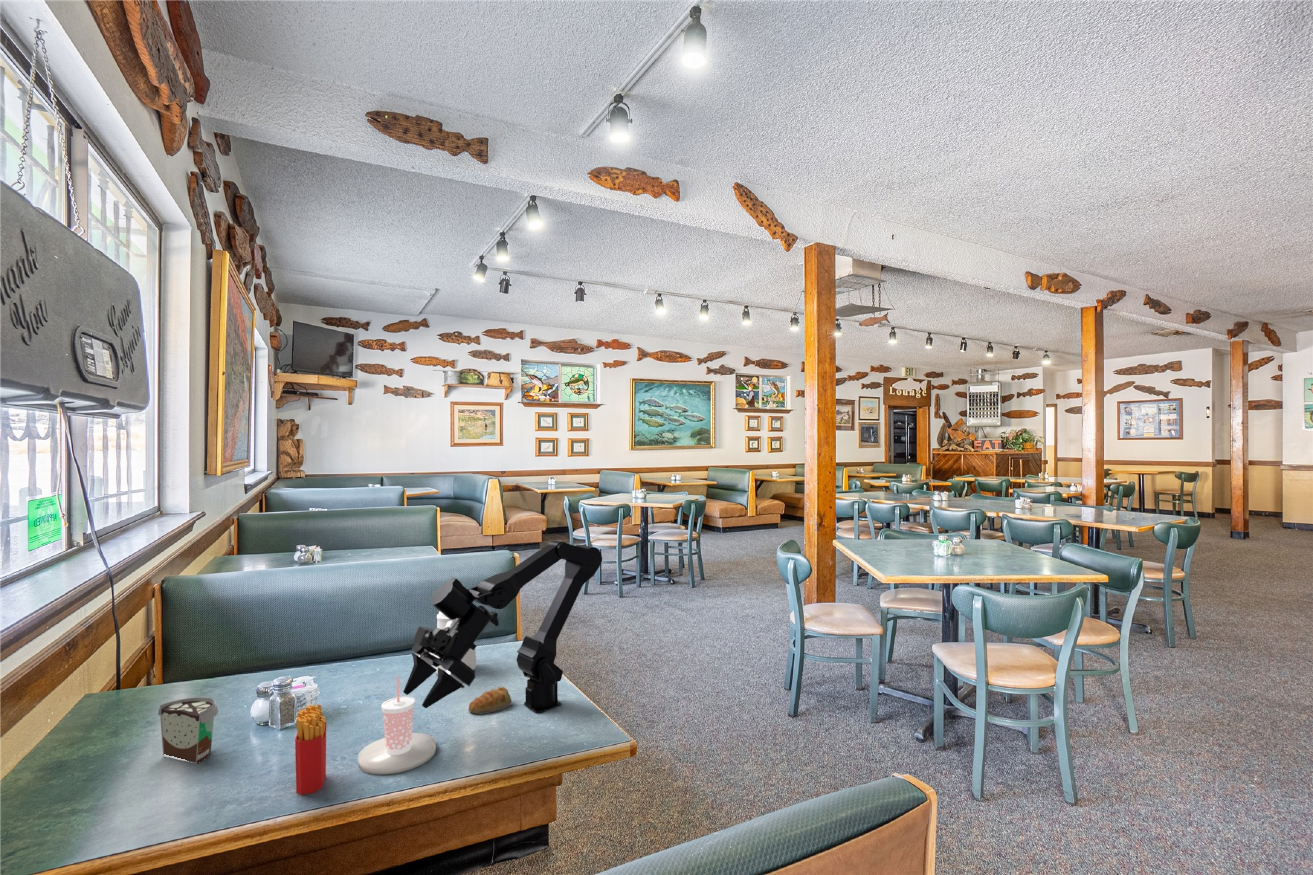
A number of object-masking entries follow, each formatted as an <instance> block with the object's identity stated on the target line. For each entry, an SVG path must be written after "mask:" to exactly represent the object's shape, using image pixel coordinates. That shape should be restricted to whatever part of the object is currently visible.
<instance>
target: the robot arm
mask: <svg viewBox="0 0 1313 875" xmlns="http://www.w3.org/2000/svg"><path fill="white" fill-rule="evenodd" d="M561 560H563V561H565V563H564V577H563V580H562V581H561V583H560V584H559V585H560V586H559V587H558V590H557V591H556V594H555V596H554V598H553V600H552V601H551V604H550V605H549V608H548V610H547V612H546V614H545V616H544V618H543V619H542V622H541V624H540V626H539V627H538V630H537V631H536V633H535V634H534V635H532V636H529V635H525V636H524V638H523V640H522V643H521V645H520V646H519V648H518V649H517V650H516V653H518V654H517V656H516V659H515V660H516V663H517V667H518V669H519V670H520V671H522V674H523V676H524V677H525V678H526V677H527V678H528V679H527V680H526V681H527V682H526V687H525V688H524V689H525V691H524V693H525V701H524V702H523V705H524V706H525V707H527V708H529V709H530V710H531V711H533V712H535V713H537V714H539V713H542V712H546V711H548V710H551V709H555V708H558V707H561V706H562V702H560V701H559V698H558V696H559V695H558V694H559V692H558V691H559V690H558V684H559V683H558V682H560V681H561V680H562V678H563V673H564V670H562V669H561V668H560V667H559V666H558V665H557V664H555V660H556V658H557V642H558V638H559V637H560V634H561V632H562V630H563V628H564V626H565V624H566V622H567V619H568V618H569V616H570V613H571V612H572V610H573V607H574V605H575V602H576V601H577V599H578V596H579V594H580V592H581V591H582V588H583V585H584V584H586V583H587V582H588V581H589V580H591V578H593V577H594V576H595V574H596V573H597V571H598V570H599V568H600V567H601V566H602V562H603V557H602V552H601V551H600V549H599V548H597V547H595V546H590V545H584V544H576V545H574V544H570V543H567V542H566V541H563V540H557V539H553V540H550V541H549V542H548V543H547V544H546V545H544V546H543V547H542V548H540V549H539V550H538V551H536V552H535V553H533V554H532V555H530V556H528V557H527V558H526V559H524V560H523V561H521V562H520V563H518V564H517V565H516V566H514V567H512V568H511V569H509V570H507V571H504V572H500V573H497V574H494V575H492V576H490V577H488V578H485V579H483V580H482V581H480V583H479V584H478V585H476V586H473V587H470V588H466V587H465V586H464V585H463V584H462V582H461V581H460V580H459V579H458V578H455V577H450V579H449V580H448V581H447V582H444V583H443V584H441V585H440V586H439V587H437V588H436V589H435V590H434V591H433V593H432V594H431V596H430V598H429V603H430V604H431V605H432V607H434V608H435V609H437V611H440V612H441V613H443V614H444V615H445V616H446V617H448V618H449V619H450V620H454V619H456V618H458V620H457V621H456V623H455V624H454V625H453V627H452V628H450V627H446V628H445V629H439V628H437V627H435V629H433V628H429V627H425V626H420V625H419V626H418V628H417V629H416V632H415V634H414V638H413V640H412V642H413V643H415V644H414V645H413V646H412V647H411V651H413V652H412V653H411V656H412V659H413V666H412V669H411V671H410V674H409V677H408V679H407V682H406V684H405V687H404V688H403V691H402V692H403V694H405V695H406V696H408V695H410V694H411V693H412V692H413V691H415V690H416V689H417V688H419V687H420V685H421V684H423V683H424V682H425V681H427V679H429V678H430V677H431V676H433V675H434V673H435V672H436V671H437V670H436V669H435V668H434V666H435V667H438V666H440V665H441V666H442V667H443V668H444V669H446V671H444V670H442V669H440V668H438V675H437V679H436V681H435V682H434V684H433V685H432V687H431V688H430V691H429V692H428V693H427V695H426V696H425V698H424V700H423V702H422V703H421V706H422V707H423V708H424V709H428V708H429V707H431V706H432V705H434V704H436V703H437V702H439V701H440V700H443V698H445V697H447V696H449V695H450V694H452V693H454V692H456V691H458V690H459V689H464V688H465V686H468V687H470V686H471V685H472V683H473V682H474V680H475V679H476V671H475V670H473V669H471V668H470V667H469V666H467V665H466V664H465V663H464V662H462V661H461V660H462V659H463V657H464V656H465V655H466V653H467V652H468V651H469V649H472V650H474V649H475V650H476V648H477V645H476V641H477V640H478V639H479V637H480V636H481V634H482V633H483V631H484V630H485V629H486V627H487V626H488V624H489V625H493V626H494V627H498V626H499V625H500V624H499V619H498V615H499V613H498V612H496V611H489V610H488V609H487V608H486V607H485V606H487V607H489V608H492V609H494V610H502V609H505V608H506V607H508V605H510V603H512V602H513V600H515V599H516V598H517V596H518V595H519V593H520V591H521V589H522V588H524V587H525V585H527V584H529V583H530V582H531V581H533V580H534V579H536V578H537V577H538V576H539V575H541V574H542V573H544V572H545V571H546V570H548V569H549V568H550V567H552V566H554V565H555V564H556V563H558V562H559V561H561ZM474 602H475V603H479V604H481V605H476V604H474ZM474 642H475V644H474ZM435 674H436V673H435ZM464 684H465V685H464Z"/></svg>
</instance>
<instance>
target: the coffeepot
mask: <svg viewBox="0 0 1313 875" xmlns="http://www.w3.org/2000/svg"><path fill="white" fill-rule="evenodd" d="M438 611H439V610H438ZM436 619H437V621H436V623H437V624H436V628H439V629H445V628H446V627H450V628H452V627H453V625H454V624H455V623H456V621H457V620H458V618H456V619H454V620H450V619H449V618H448V617H446V616H445V615H444V614H443V613H441V612H440V611H439V612H438V614H436ZM474 644H475V645H476V641H475V642H474ZM461 661H462V662H464V663H465V664H466V665H467V666H469V667H470V668H471V669H473V670H474V671H475V669H476V668H477V652H476V648H475V649H474V650H472V649H469V651H468V652H467V653H466V655H465V656H464V657H463V659H462V660H461ZM433 668H435V669H436V670H437V671H436V672H435V674H436V675H437V676H438V668H440V669H442V670H444V671H446V669H444V668H443V667H442V666H441V665H440V666H438V667H435V666H433Z"/></svg>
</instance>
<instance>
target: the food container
mask: <svg viewBox="0 0 1313 875" xmlns="http://www.w3.org/2000/svg"><path fill="white" fill-rule="evenodd" d="M217 714H219V709H218V705H217V702H216V701H215V699H213V697H206V696H196V697H186V698H180V699H177V700H172V701H169V702H165V703H162V704H159V707H158V713H157V715H158V716H159V718H160V729H161V730H160V731H161V732H160V733H161V745H162V756H163V755H164V754H166V755H169V756H174V757H177V758H181V759H185V760H187V761H189V762H192V763H191V764H193V763H195V764H194V765H198V764H200V763H202V762H204V761H205V760H206V759H208V758H209V757H208V756H210V755H211V754H212V752H211V751H212V744H213V741H212V740H213V732H214V731H213V730H214V723H215V722H214V721H215V717H216V716H217ZM210 753H211V754H210ZM207 757H208V758H207ZM204 759H205V760H204ZM203 760H204V761H203ZM201 761H202V762H201ZM199 762H200V763H199ZM197 763H198V764H197Z"/></svg>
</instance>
